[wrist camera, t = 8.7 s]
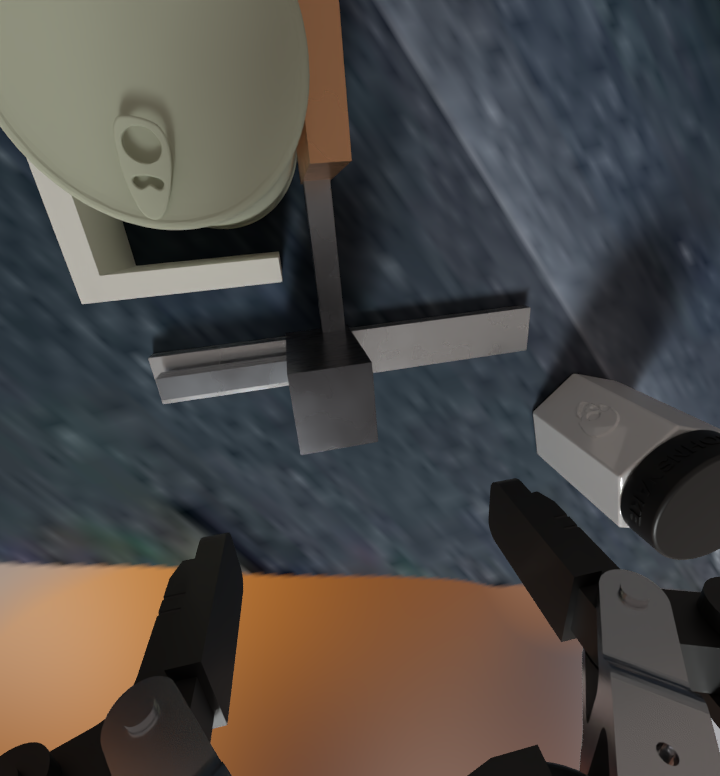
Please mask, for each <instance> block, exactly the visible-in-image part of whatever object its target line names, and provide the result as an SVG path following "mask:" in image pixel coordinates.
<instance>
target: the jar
mask: <svg viewBox="0 0 720 776" xmlns="http://www.w3.org/2000/svg"><path fill="white" fill-rule="evenodd" d="M533 419H534V428H535V437H536V446H537V453H538V455H539V456H540V457H541V458H543V459H544V460H545V461H546V462H547V463H548V464H549V465H550V466H552V467H553V468H554V469H555V470H556V471H557V472H558V473H559V474H561V475H562V476H563V477H564V478H565V479H566V480H567V481H568V482H569V483H571V484H572V485H573V486H574V487H575V488H576V489H577V490H578V491H580V492H581V493H582V494H583V495H584V496H585V497H586V498H587V499H589V500H590V501H591V502H592V503H593V504H594V505H595V506H596V507H598V508H599V509H600V510H601V511H602V512H603V513H604V514H605V515H606V516H608V517H609V518H610V519H611V520H612V521H613V522H614V523H615V524H617V525H618V526H619V527H625V528H631V529H632V530H633V531H635V532H636V533H637V534H638V535H639V536H640V537H642V538H643V539H644V540H645V541H646V542H647V543H649V544H650V545H651V546H652V547H653V548H654V549H655V550H657V551H658V552H659V553H660V554H662V555H664V556H665V557H668V558H672V559H678V560H686V559H693V558H697V557H701V556H704V555H707V554H709V553H712V552H714V551H716V550H718V549H720V429H719V428H717V427H714V426H712V425H710V424H708V423H706V422H704V421H701V420H699V419H697V418H695V417H693V416H691V415H689V414H686V413H684V412H682V411H680V410H678V409H676V408H674V407H671V406H669V405H667V404H665V403H663V402H661V401H658V400H656V399H654V398H652V397H650V396H648V395H646V394H643V393H641V392H639V391H637V390H635V389H633V388H630V387H628V386H626V385H624V384H622V383H620V382H618V381H614V380H608V379H603V378H597V377H592V376H586V375H581V374H572V375H571V376H570V377H569V378H568V379H567V380H566V381H565V382H564V383H563V384H562V385H560V386H559V387H558V388H557V389H556V390H555V391H554V392H553V393H552V394H551V395H550V396H549V397H548V398H547V399H546V400H545V401H544V402H543V403H542V404H540V405H539V406H538V407H537V408H536V409H535V410H534V411H533Z"/></svg>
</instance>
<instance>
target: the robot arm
mask: <svg viewBox="0 0 720 776" xmlns="http://www.w3.org/2000/svg"><path fill="white" fill-rule="evenodd" d="M489 527H490V531H491V534H492V537H493V539H494V540H495V542H496V544H497V545H498V547H499V548H500V550H501V551H502V553H503V554H504V556H505V557H506V559H507V560H508V562H509V563H510V565H511V566H512V568H513V569H514V571H515V572H516V574H517V575H518V577H519V578H520V580H521V582H522V583H523V585H524V586H525V587H526V589H527V591H528V592H529V593H530V595H531V597H532V598H533V600H534V601H535V603H536V604H537V606H538V607H539V609H540V610H541V612H542V613H543V615H544V616H545V618H546V619H547V621H548V622H549V624H550V625H551V627H552V628H553V630H554V631H555V633H556V635H557V636H558V637H559V639H560V640H561V642H563V641H567V640H571V639H575V638H577V639H578V641H579V642H580V644H581V645H582V646H583V652H582V698H583V699H582V702H583V704H582V706H583V735H582V746H581V755H580V770H579V771H578V770H575V769H572V768H570V767H567V766H564V765H560V764H556V763H550V762H546V761H545V759H544V757H543V755H542V753H541V751H540V749H539V747H538V745H535V746H531V747H528V748H524V749H521V750H517V751H514V752H510V753H507V754H503V755H500V756H496V757H493V758H490V759H489V760H488V761H486V762H485V763H484V764H483V765H481V766H480V767H478V768H477V769H476V770H474V771H473V772H472V773H471V774H469V775H468V776H720V752H719V748H718V744H717V741H716V736H715V733H714V729H713V725H712V721H711V718H712V719H713V721H714V722H715V723H716V725H717V726H718V727H719V728H720V577H714V578H710V579H709V580H707V581H706V582H705V584H704V586H703V589H702V591H701V592H688V591H676V590H665V589H660V587H658V586H657V585H656V584H655V583H654V582H652V581H651V580H649V579H648V578H646V577H644V576H642V575H640V574H637V573H635V572H632V571H628V570H621V569H620V568H619V567H618V566H617V565H616V564H615V563H614V562H613V561H612V560H611V559H610V558H609V557H608V556H607V555H606V554H605V553H604V552H603V551H602V550H601V549H600V548H599V547H598V546H597V545H596V544H595V543H594V542H593V541H592V540H591V539H590V538H589V537H588V536H587V535H586V534H585V532H584V531H583V530H582V529H581V528H580V527H577V524H576V523H575V522H574V521H573V520H572V519H571V518H570V517H567V514H566V513H565V512H564V511H563V510H562V509H561V508H560V507H559V506H558V505H557V504H556V503H555V502H554V501H553V500H551V499H549V498H548V497H546V496H544V495H542V494H541V493H539V492H533V493H531V492H530V491H529V490H528V489H527V487H526V486H525V485H524V484H523V483H522V482H521V481H520V480H519V479H516V478H514V479H509V480H504V481H499V482H494V483H492V485H491V489H490V505H489ZM242 596H243V577H242V571H241V567H240V564H239V560H238V557H237V554H236V550H235V547H234V544H233V540H232V537H231V535H230V533H224V534H218V535H213V536H208V537H203V538H201V540H200V542H199V545H198V549H197V553H196V556H195V559H190V560H185V561H182V563H181V564H180V565H179V567H178V568H177V569H176V571H175V572H174V573H173V575H172V576H171V577H170V579H169V582H168V585H167V588H166V591H165V595H164V600H163V601H162V603H161V606H160V609H159V616H157V618H156V621H155V624H154V627H153V630H152V634H151V636H150V640H149V642H148V645H147V648H146V651H145V655H144V658H143V661H142V664H141V667H140V670H139V673H138V676H137V678H136V681H135V683H134V685H133V686H132V687H131V688H129V689H128V690H127V691H126V692H125V693H124V694H122V696H121V697H120V698H119V699H118V700H117V701H116V702H115V704H114V705H113V707H112V708H111V709H110V711H109V713H108V714H107V717H106V719H104V720H103V721H102V722H101V723H99V724H98V725H96V726H94V727H93V728H91V729H89V730H87V731H86V732H84V733H82V734H80V735H79V736H77V737H75V738H73V739H71V740H70V741H68V742H66V743H64V744H62V745H61V746H59V747H57V748H55V749H54V750H52V751H50V752H49V750H48V749H47V748H46V747H45V746H44V745H42V744H40V743H35V742H34V743H26V744H22V745H20V746H17V747H15V748H13V749H11V750H9V751H7V752H6V753H4V754H3V755H1V756H0V776H231V774H230V772H229V771H228V769H227V768H226V766H225V765H224V763H223V762H221V760H220V759H219V758H218V756H217V754H216V752H215V751H214V749H213V747H212V746H211V744H210V741H211V733H212V729H213V728H217V727H221V726H225V725H227V722H228V714H229V705H230V697H231V689H232V680H233V671H234V663H235V654H236V647H237V638H238V630H239V621H240V613H241V605H242Z"/></svg>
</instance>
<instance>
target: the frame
mask: <svg viewBox="0 0 720 776" xmlns="http://www.w3.org/2000/svg"><path fill="white" fill-rule="evenodd" d="M27 160H28V159H27ZM28 163H29V166H30V168H31V171H32V174H33V176H34V179H35V181H36V184H37V187H38V189H39V192H40V195H41V197H42V200H43V203H44V205H45V208H46V210H47V213H48V216H49V218H50V221H51V224H52V226H53V229H54V232H55V234H56V237H57V240H58V242H59V245H60V247H61V250H62V253H63V255H64V258H65V261H66V263H67V266H68V269H69V271H70V274H71V276H72V279H73V282H74V284H75V287H76V290H77V292H78V295H79V298H80V300H81V303H82V304H88V303H97V302H106V301H115V300H124V299H133V298H142V297H151V296H160V295H169V294H178V293H187V292H196V291H205V290H214V289H223V288H231V287H240V286H249V285H258V284H267V283H276V282H282V267H281V261H280V255H279V251H277V252H268V253H258V254H248V255H238V256H228V257H218V258H208V259H198V260H188V261H178V262H168V263H158V264H148V265H139V266H136V264H135V261H134V257H133V254H132V251H131V248H130V244H129V241H128V238H127V235H126V232H125V228H124V225H123V222H122V220H119V219H116V218H114V217H111V216H109V215H107V214H104V213H102V212H100V211H98V210H96V209H94V208H92V207H90V206H88V205H86V204H84V203H83V202H81V201H80V200H78V199H76V198H75V197H73V196H72V195H70V194H69V193H67V192H66V191H65V190H63V189H62V188H60V187H59V186H58V185H56V184H55V183H54V182H53V181H52V180H50V179H49V178H48V177H47V176H46V175H44V174H43V173H42V172H41V171H39V170H38V169H37V168H36V167H35V166H34V165H33V164H32V163H31V162H30V161H29V160H28Z"/></svg>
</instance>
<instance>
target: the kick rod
mask: <svg viewBox="0 0 720 776" xmlns="http://www.w3.org/2000/svg"><path fill="white" fill-rule="evenodd" d="M298 3H299V6H300V10H301V14H302V18H303V22H304V27H305V32H306V38H307V45H308V54H309V74H310V79H309V96H308V106H307V111H306V116H305V121H304V125H303V129H302V133H301V136H300V139H299V142H298V145H297V147H296V152H297V160H298V168H299V175H300V183H301V184H303V189H304V197H305V205H306V212H307V220H308V228H309V236H310V244H311V252H312V259H313V267H314V275H315V283H316V291H317V299H318V306H319V314H320V322H321V328H320V329H312V330H304V331H297V332H289V333H286V355H284V356H277V357H269V358H262V359H255V360H248V361H240V362H233V363H226V364H219V365H211V366H204V367H197V368H190V369H182V370H175V371H168V372H161V373H160V374H159V375H158V377H157V378H156V379H155V380H156V383H157V386H158V389H159V392H160V395H161V399H162V400H169V399H175V398H182V397H189V396H196V395H202V394H209V393H216V392H223V391H230V390H236V389H243V388H250V387H257V386H263V385H270V384H277V383H284V382H288V383H289V389H290V394H291V400H292V406H293V412H294V417H295V423H296V429H297V435H298V440H299V446H300V452H301V455H304V454H310V453H316V452H321V451H327V450H333V449H338V448H344V447H350V446H356V445H361V444H367V443H373V442H378V436H377V422H376V409H375V396H374V383H373V369H372V362H371V360H370V359H369V357H368V356H367V354H366V352H365V351H364V349H363V348H362V346H361V345H360V343H359V342H358V340H357V339H356V337H355V336H354V334H353V333H352V331H351V330H350V328H349V327H348V325H345V321H344V312H343V302H342V292H341V282H340V272H339V263H338V253H337V243H336V233H335V223H334V213H333V204H332V194H331V184H330V180H331V179H332V178H333V177H335V176H336V175H337V174H338V173H339V172H340V171H341V170H342V169H343V168H344V167H345V166H347V165H348V164H349V163H350V162H351V161H352V159H351V146H350V134H349V121H348V109H347V96H346V84H345V71H344V59H343V46H342V34H341V21H340V9H339V0H298Z"/></svg>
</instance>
